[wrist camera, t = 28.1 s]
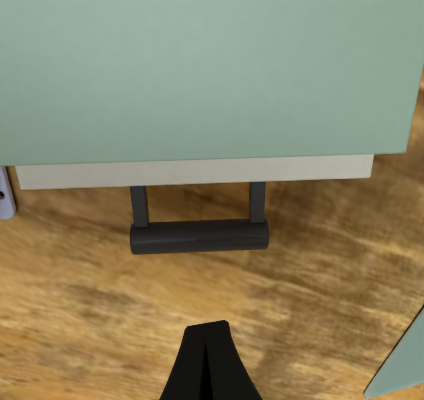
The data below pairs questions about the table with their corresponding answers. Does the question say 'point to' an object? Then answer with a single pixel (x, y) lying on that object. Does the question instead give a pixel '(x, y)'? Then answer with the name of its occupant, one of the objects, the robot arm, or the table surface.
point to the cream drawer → (195, 174)
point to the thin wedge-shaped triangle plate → (402, 363)
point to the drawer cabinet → (206, 79)
